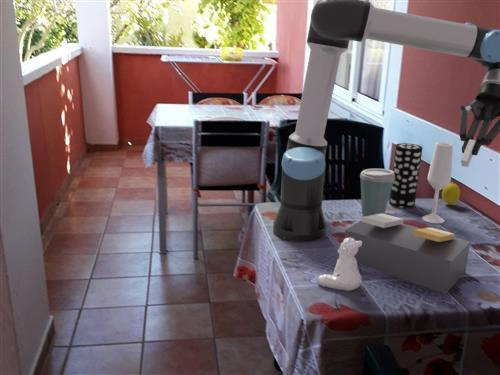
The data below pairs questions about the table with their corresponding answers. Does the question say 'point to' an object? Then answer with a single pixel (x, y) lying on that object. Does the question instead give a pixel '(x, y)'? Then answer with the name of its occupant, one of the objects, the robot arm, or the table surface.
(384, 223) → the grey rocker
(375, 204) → the disposable coffee cup
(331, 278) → the white creature statuette
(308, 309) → the table surface
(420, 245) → the switch box
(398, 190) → the spotted tube
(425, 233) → the amber rocker
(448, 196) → the lemon
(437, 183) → the champagne flute
